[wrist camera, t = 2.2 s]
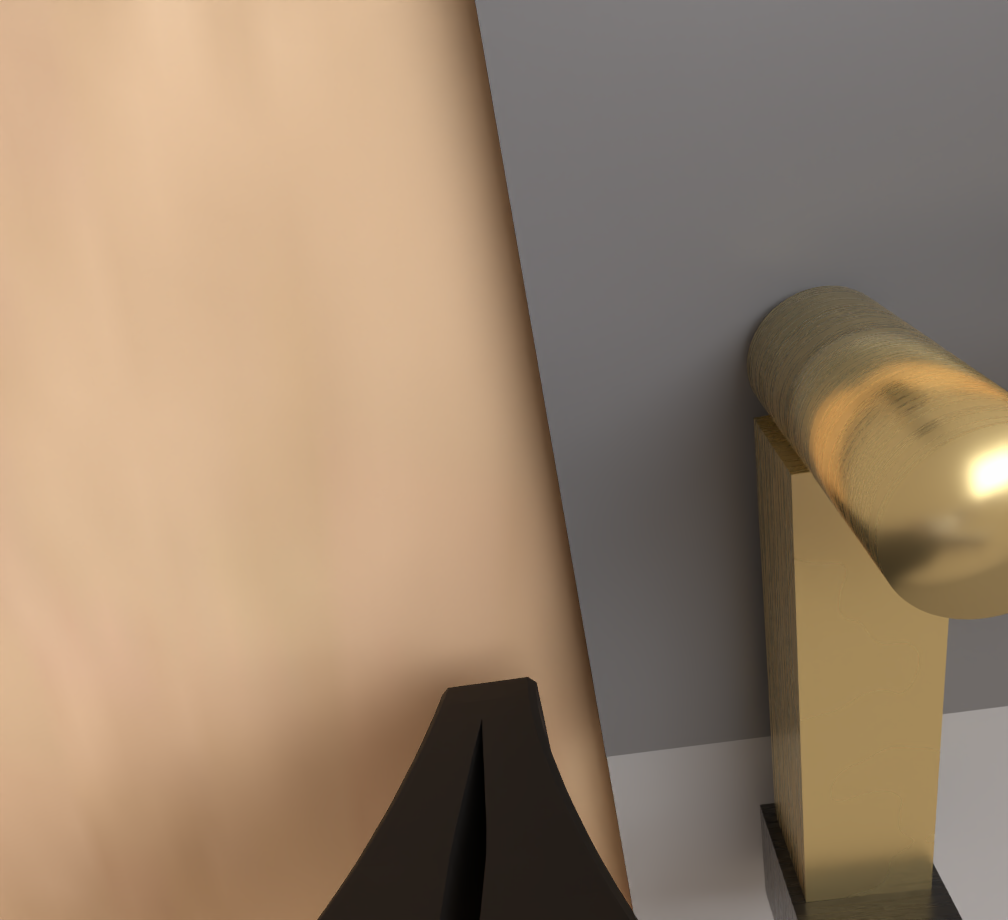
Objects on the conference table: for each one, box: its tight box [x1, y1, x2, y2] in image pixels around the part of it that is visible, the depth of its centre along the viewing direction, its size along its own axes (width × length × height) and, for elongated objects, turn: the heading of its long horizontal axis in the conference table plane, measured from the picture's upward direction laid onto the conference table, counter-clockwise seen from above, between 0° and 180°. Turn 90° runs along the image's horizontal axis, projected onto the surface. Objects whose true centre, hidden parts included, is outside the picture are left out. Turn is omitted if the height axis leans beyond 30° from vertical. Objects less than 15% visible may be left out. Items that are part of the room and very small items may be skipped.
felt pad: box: [607, 706, 1008, 920], centre depth 16 cm, size 8×8×1 cm
